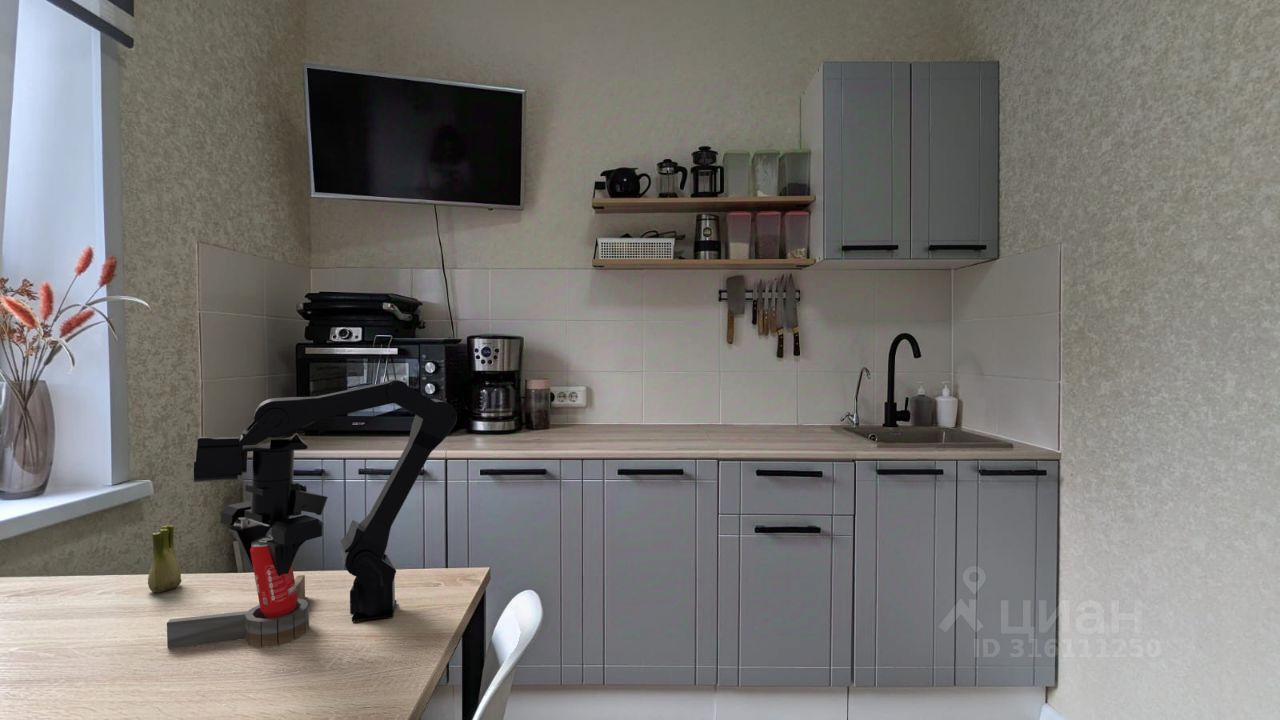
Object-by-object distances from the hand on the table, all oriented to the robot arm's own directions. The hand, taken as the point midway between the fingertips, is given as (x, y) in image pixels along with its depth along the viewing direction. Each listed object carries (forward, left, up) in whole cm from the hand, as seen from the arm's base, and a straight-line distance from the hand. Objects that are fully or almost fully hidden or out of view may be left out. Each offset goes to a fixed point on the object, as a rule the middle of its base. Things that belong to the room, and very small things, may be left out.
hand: (269, 574), depth 100 cm
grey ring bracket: (+4, -5, -10) cm, 12 cm away
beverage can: (-2, +1, -6) cm, 6 cm away
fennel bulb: (+25, -26, -10) cm, 37 cm away
